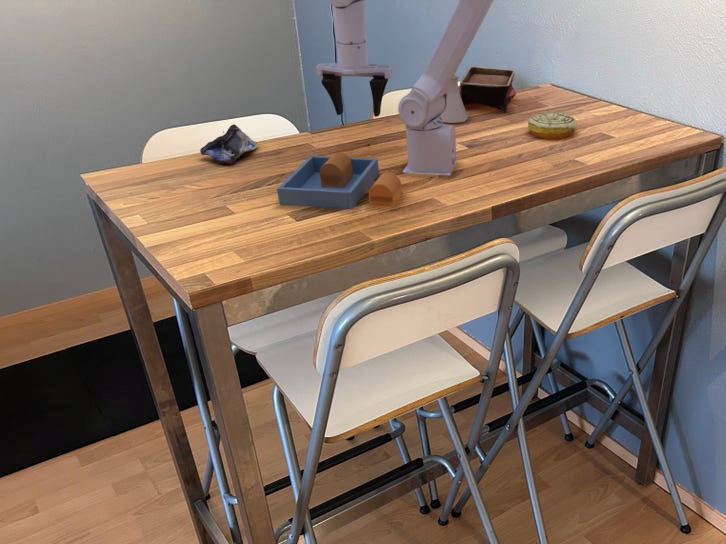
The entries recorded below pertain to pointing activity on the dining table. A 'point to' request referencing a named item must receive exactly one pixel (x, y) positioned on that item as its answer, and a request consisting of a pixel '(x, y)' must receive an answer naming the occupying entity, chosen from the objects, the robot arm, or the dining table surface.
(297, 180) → the tray
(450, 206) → the dining table surface
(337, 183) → the cylinder
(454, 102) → the flask
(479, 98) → the square planter pot
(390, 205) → the bread roll
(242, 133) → the snack package
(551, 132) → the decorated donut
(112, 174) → the dining table surface
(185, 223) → the dining table surface
